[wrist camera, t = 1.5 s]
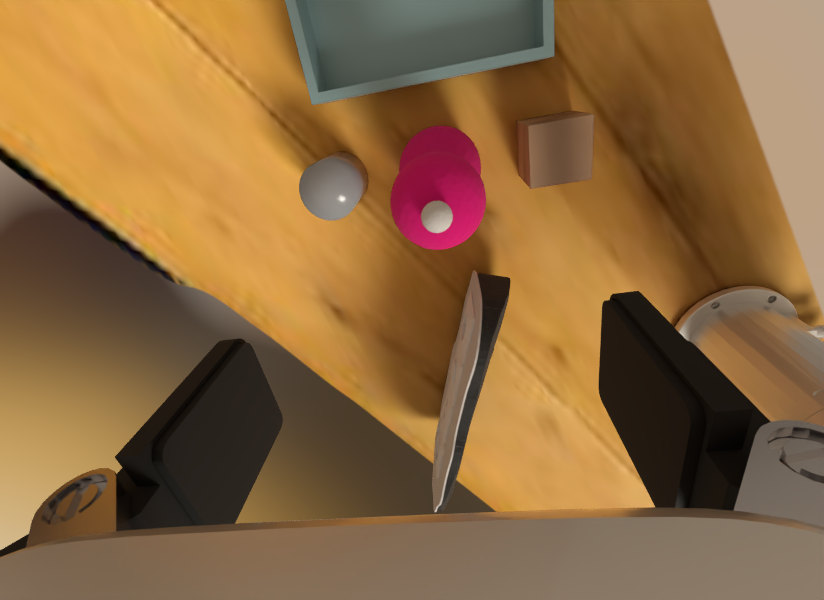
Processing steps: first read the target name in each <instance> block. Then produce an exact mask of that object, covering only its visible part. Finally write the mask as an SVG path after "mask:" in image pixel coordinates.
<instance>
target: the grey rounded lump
mask: <svg viewBox="0 0 824 600" xmlns="http://www.w3.org/2000/svg"><path fill="white" fill-rule="evenodd" d="M367 188H368V173H367V170H366V168H365V166H364V164H363V163H362V162H361V161H360V160H359V159H358V158H357V157H356V156H354V155H352V154H350V153H347V152H335V153H332V154H330V155H328V156H327V157H325V158H323V159H321V160H319V161H317V162H316V163H314V164H312V165H310V166H309V167H308V168H307V169H306V170H305V171H304V173H303V174H302V176H301V179H300V184H299V191H300V196H301V199H302V201H303V203H304V205H305V206H306V208H307V209H308V210H309V211H310V212H311V213H312V214H314V215H315V216H317V217H319V218H321V219H324V220H338V219H341V218H343V217H345V216H347V215H348V214H349V213H350V212H351V211H352V210H353V208H354V207H355V206H356V204H357V203H358V202H359V201H360V199H361V198H362V197H363V195H364V194H365V192H366V190H367Z"/></svg>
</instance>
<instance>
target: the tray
mask: <svg viewBox="0 0 824 600" xmlns="http://www.w3.org/2000/svg"><path fill="white" fill-rule="evenodd" d="M285 3H286V6H287V10H288V14H289V18H290V22H291V26H292V30H293V33H294V37H295V41H296V45H297V49H298V53H299V56H300V60H301V64H302V68H303V72H304V76H305V79H306V83H307V87H308V91H309V95H310V99H311V103H312V105H315V104H324V103H330V102H335V101H340V100H345V99H350V98H355V97H360V96H364V95H369V94H374V93H379V92H384V91H389V90H394V89H399V88H404V87H409V86H414V85H419V84H424V83H429V82H434V81H439V80H444V79H449V78H454V77H459V76H464V75H469V74H474V73H479V72H484V71H489V70H494V69H499V68H504V67H509V66H514V65H519V64H524V63H529V62H534V61H539V60H544V59H547V58H550V57H553V56H554V0H285Z"/></svg>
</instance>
